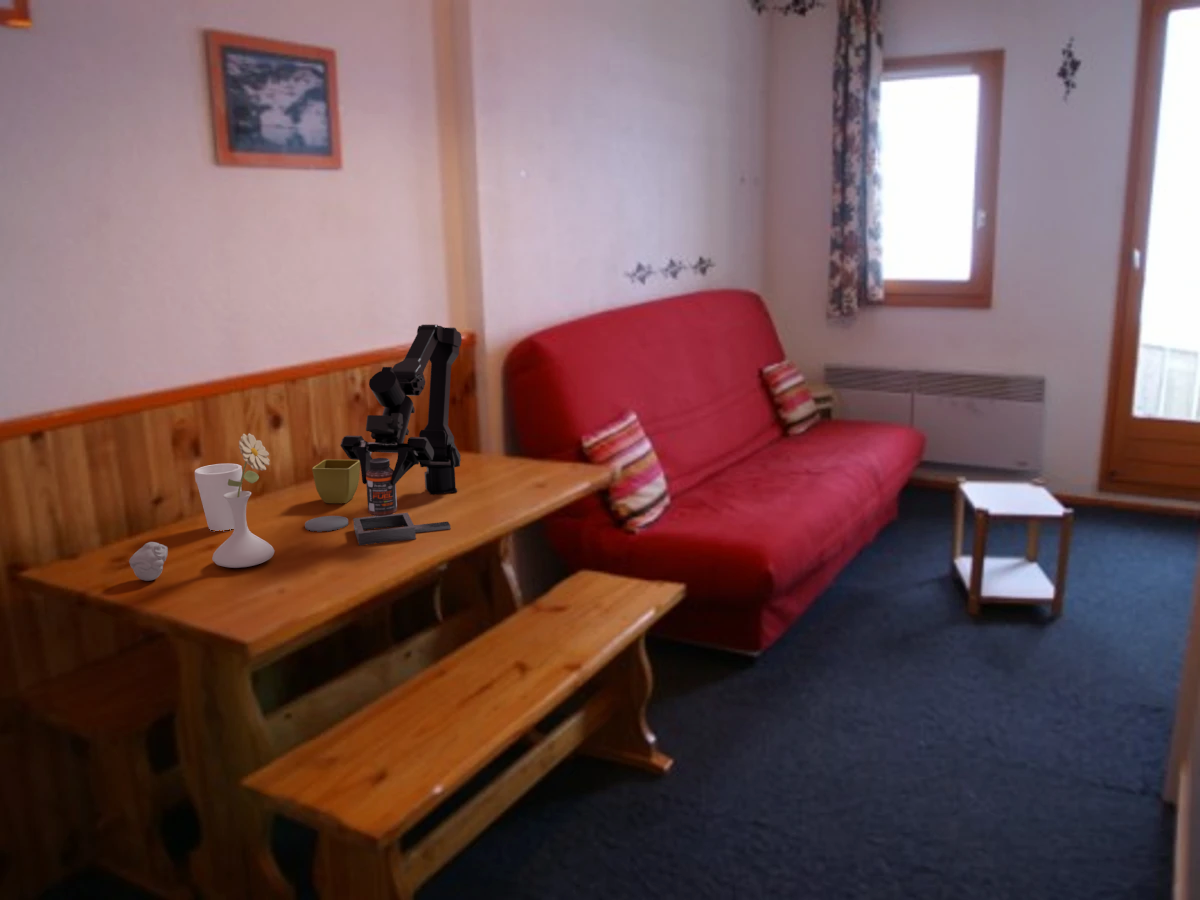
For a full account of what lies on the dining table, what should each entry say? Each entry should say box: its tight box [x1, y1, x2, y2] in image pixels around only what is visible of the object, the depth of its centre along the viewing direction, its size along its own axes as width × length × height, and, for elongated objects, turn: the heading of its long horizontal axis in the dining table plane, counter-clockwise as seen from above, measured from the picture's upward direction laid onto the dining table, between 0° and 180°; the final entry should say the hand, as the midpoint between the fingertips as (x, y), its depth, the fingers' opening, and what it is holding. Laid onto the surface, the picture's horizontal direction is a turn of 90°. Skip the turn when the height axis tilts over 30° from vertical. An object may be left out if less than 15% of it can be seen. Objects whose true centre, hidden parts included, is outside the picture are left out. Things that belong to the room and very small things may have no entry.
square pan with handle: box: [352, 512, 451, 546], centre depth 216 cm, size 19×11×2 cm, turn 108°
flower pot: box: [311, 459, 361, 504], centre depth 240 cm, size 9×9×9 cm
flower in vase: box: [211, 433, 276, 569], centre depth 197 cm, size 13×11×25 cm
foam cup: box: [194, 463, 243, 532], centre depth 221 cm, size 10×9×13 cm
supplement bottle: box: [365, 457, 398, 516], centre depth 213 cm, size 6×6×11 cm
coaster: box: [304, 515, 349, 533], centre depth 222 cm, size 9×9×1 cm
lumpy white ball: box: [128, 541, 169, 582], centre depth 191 cm, size 6×7×7 cm
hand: (378, 483), depth 212 cm, fingers closed on supplement bottle, 6 cm apart
